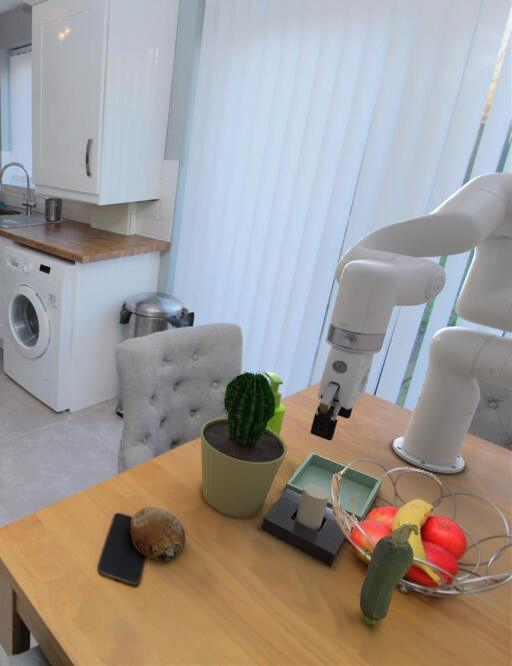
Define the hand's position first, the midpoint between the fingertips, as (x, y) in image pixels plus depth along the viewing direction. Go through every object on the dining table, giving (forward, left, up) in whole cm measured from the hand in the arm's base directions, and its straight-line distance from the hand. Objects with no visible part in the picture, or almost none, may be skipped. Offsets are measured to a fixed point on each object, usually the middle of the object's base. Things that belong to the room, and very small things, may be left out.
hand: (330, 425), depth 85 cm
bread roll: (+24, -17, -23) cm, 38 cm away
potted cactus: (+3, -13, -23) cm, 27 cm away
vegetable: (+13, +14, -23) cm, 30 cm away
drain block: (+1, +1, -23) cm, 23 cm away
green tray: (-14, +1, -23) cm, 27 cm away
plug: (+1, +1, -23) cm, 23 cm away
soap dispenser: (-18, -15, -23) cm, 33 cm away
